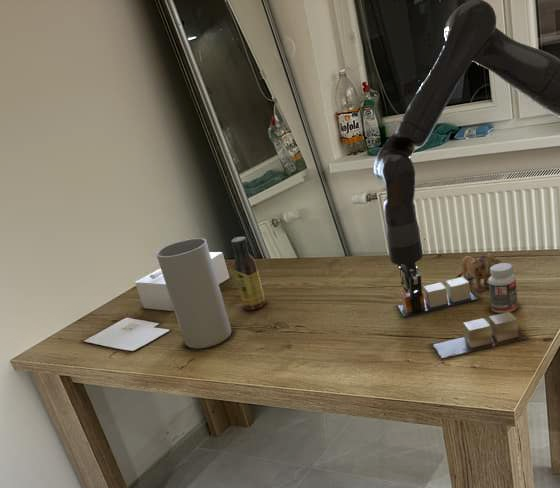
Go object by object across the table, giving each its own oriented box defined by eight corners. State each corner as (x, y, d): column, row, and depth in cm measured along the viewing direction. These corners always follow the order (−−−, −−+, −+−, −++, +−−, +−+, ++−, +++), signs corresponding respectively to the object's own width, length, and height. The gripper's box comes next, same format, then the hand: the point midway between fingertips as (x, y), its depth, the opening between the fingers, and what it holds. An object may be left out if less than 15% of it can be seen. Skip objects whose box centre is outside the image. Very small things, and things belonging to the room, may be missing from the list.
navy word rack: (467, 290, 166) (466, 273, 165) (477, 300, 160) (475, 283, 158) (397, 306, 167) (395, 290, 165) (404, 317, 161) (401, 300, 159)
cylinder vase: (229, 323, 183) (204, 234, 171) (234, 341, 171) (207, 247, 160) (184, 336, 182) (156, 247, 171) (186, 354, 171) (156, 261, 160)
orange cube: (420, 302, 166) (418, 287, 164) (425, 308, 162) (423, 293, 160) (403, 306, 166) (400, 291, 164) (407, 313, 162) (404, 297, 160)
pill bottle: (517, 313, 150) (513, 270, 145) (490, 314, 152) (486, 273, 148) (518, 302, 154) (515, 261, 150) (492, 303, 157) (488, 263, 152)
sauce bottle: (241, 306, 192) (223, 239, 183) (262, 299, 193) (245, 232, 184) (248, 313, 186) (229, 244, 177) (269, 306, 187) (251, 237, 178)
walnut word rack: (513, 326, 144) (512, 308, 143) (526, 339, 138) (525, 320, 136) (432, 345, 145) (430, 327, 143) (442, 359, 139) (439, 340, 137)
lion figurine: (506, 287, 163) (503, 252, 159) (488, 295, 161) (485, 259, 157) (465, 275, 175) (461, 242, 171) (448, 282, 173) (444, 249, 169)
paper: (80, 343, 195) (78, 340, 195) (124, 317, 206) (123, 314, 205) (135, 352, 179) (134, 349, 179) (180, 324, 190) (179, 321, 190)
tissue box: (229, 277, 217) (220, 245, 212) (174, 311, 201) (163, 276, 196) (198, 276, 226) (189, 245, 221) (143, 308, 210) (132, 275, 206)
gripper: (428, 244, 150) (437, 314, 157) (412, 228, 162) (421, 293, 170) (395, 252, 150) (405, 322, 158) (381, 235, 163) (392, 301, 170)
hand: (414, 307), depth 164 cm, fingers closed on orange cube, 4 cm apart
